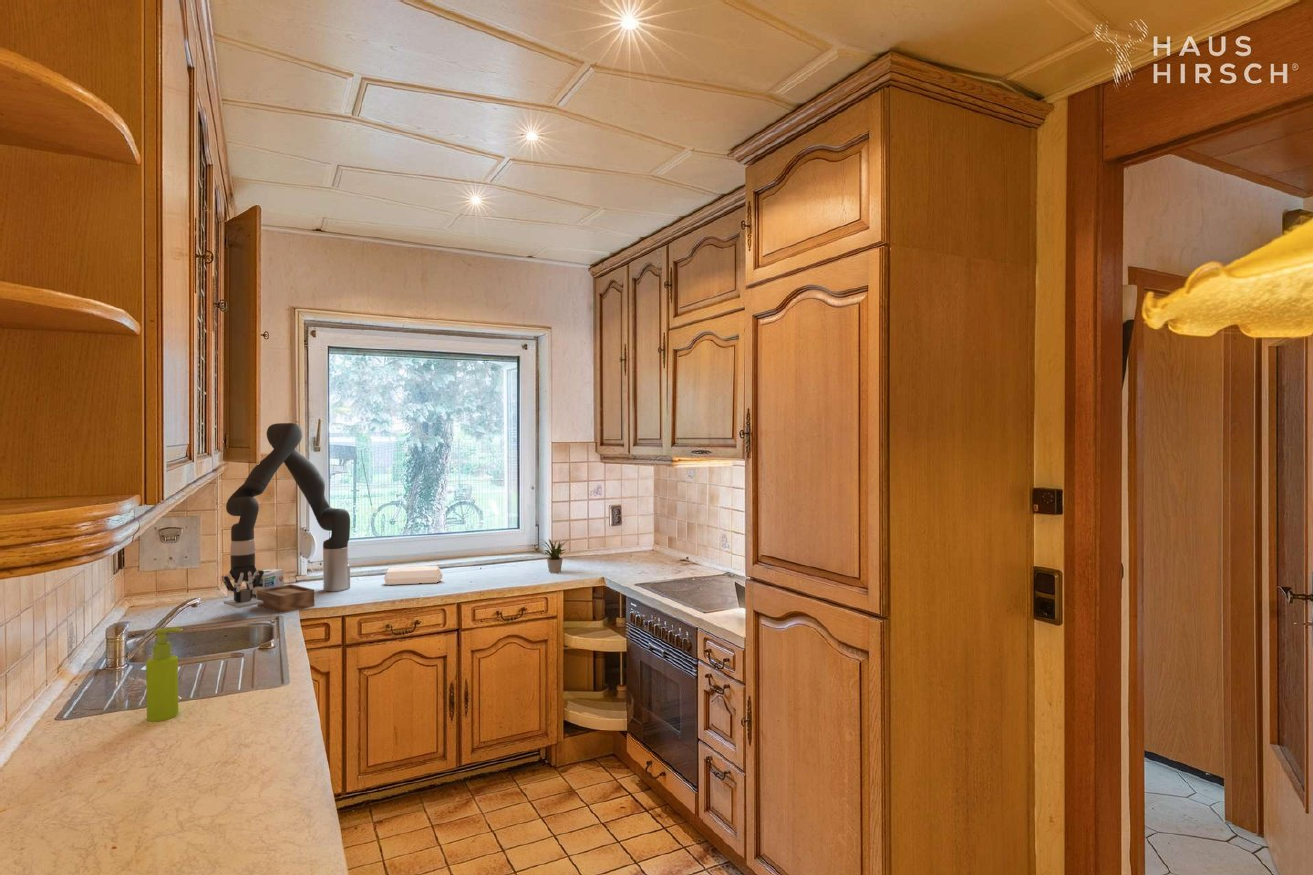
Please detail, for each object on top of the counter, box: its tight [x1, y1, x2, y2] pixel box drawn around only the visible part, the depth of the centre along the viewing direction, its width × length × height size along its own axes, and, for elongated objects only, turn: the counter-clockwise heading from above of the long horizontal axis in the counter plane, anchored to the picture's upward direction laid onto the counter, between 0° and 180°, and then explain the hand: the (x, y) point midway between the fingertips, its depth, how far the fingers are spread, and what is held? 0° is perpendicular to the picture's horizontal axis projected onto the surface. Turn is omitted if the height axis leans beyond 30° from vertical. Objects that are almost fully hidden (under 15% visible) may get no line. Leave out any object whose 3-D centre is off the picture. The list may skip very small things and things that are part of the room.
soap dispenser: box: [145, 626, 184, 722], centre depth 161 cm, size 6×7×20 cm
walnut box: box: [257, 583, 315, 614], centre depth 262 cm, size 13×17×6 cm
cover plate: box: [223, 588, 263, 609], centre depth 250 cm, size 8×12×5 cm, turn 55°
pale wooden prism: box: [383, 565, 443, 586], centre depth 302 cm, size 7×7×24 cm
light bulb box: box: [252, 568, 285, 599], centre depth 274 cm, size 11×7×11 cm, turn 168°
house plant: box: [539, 538, 570, 574], centre depth 322 cm, size 14×14×16 cm
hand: (243, 600), depth 250 cm, fingers closed on cover plate, 3 cm apart
